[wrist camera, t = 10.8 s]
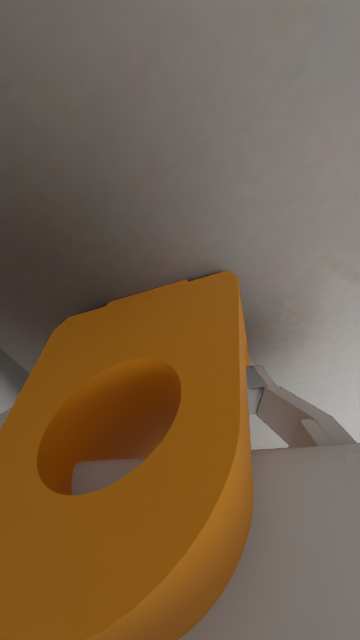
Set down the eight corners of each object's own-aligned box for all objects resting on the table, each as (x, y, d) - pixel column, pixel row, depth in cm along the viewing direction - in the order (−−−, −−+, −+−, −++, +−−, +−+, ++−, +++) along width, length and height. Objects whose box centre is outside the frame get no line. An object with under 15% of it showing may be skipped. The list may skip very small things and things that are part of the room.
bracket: (117, 385, 16) (15, 714, 5) (74, 312, 13) (-453, 763, 2) (237, 352, 15) (415, 633, 4) (223, 268, 12) (685, 517, 1)
